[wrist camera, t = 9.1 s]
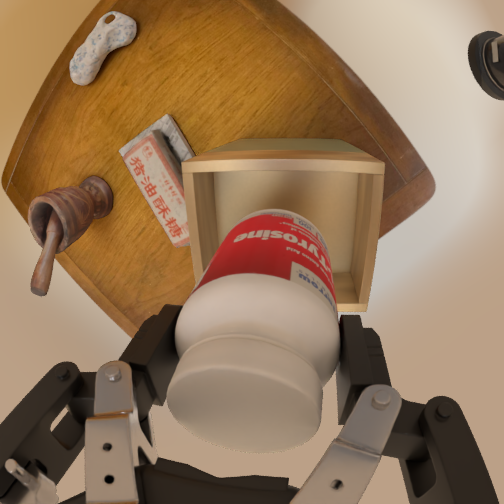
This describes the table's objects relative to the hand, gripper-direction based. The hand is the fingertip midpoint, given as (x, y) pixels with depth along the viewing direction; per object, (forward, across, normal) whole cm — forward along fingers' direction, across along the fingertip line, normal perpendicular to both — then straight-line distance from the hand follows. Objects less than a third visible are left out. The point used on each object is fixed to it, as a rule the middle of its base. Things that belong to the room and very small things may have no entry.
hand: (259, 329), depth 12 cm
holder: (+16, 0, +1) cm, 16 cm away
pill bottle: (+7, 0, 0) cm, 7 cm away
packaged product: (+32, +17, +1) cm, 36 cm away
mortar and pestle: (+32, +31, +4) cm, 45 cm away
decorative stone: (+32, +27, -22) cm, 47 cm away
